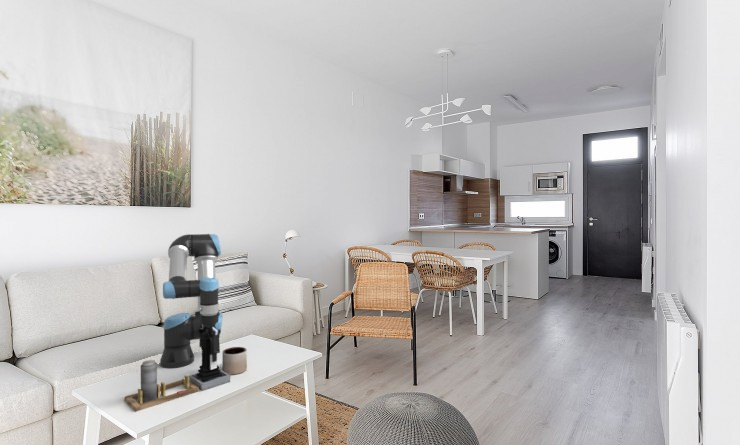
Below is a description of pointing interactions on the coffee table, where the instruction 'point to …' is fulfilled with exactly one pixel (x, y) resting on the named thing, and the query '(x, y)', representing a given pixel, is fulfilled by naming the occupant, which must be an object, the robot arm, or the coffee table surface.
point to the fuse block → (156, 388)
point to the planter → (234, 360)
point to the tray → (209, 381)
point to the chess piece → (207, 358)
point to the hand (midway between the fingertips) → (209, 366)
